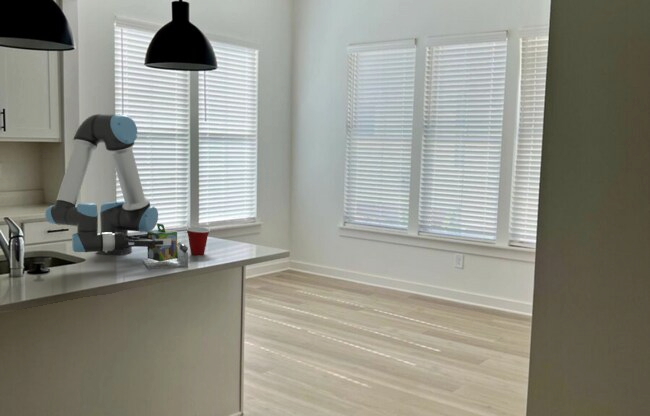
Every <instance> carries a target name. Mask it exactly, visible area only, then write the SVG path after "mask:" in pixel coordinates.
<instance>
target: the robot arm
mask: <svg viewBox="0 0 650 416" xmlns="http://www.w3.org/2000/svg"><path fill="white" fill-rule="evenodd" d="M137 137H138V128H137V124H136V123H135V121H134V120H133V119H132V118H131V116H128V115H124V114H102V113H101V114H100V113H97V114H92V115H90V116H88V117H87V118H86V119H85V120H84V121H82V123H81V124H80V125H79V126H78V128H77V130H76V131H75V134H74V136H73V139H72V143H73V145H74V146H73V148H72V151H71V153H70V157H69V160H68V164H67V165H66V166H67V167H66V169H65V172H64V175H63V179H62V181H61V185H60V188H59V190H58V194H57V198H56V199H55V200H56V201H55V202H54V204H53V205H50V206H48V207H47V208H46V210H45V216H44V217H45V219H46V221H47V222H48V223H49V224H53V225H58V226H71V227H76V228H77V232H75V233H73V234H72V238H71V241H72V242H71V244H72V247H71V248H72V250H73V252H74V253H94V252H96V253H97V254H99V255H104V256H105V255H106V256H107V255H108V256H111V255H113V256H117V255H126V254H130V253H132V252H133V248H134V247H137V248H138V247H140V248H148V247H153V248H155V246H166V245H171V238H170V239H155V240H150V239H147V232H150V231H154V229H155V227H157V223H158V220H159V211H158V209H157V207H155V206H153V205H151V203H150V199H148V198H147V197H145V194H144V191H143V186H142V183H141V178H140V175H139V171H138V166H137V162H136V159H135V156H134V152H133V151H134V150H133V147H134V145H135V142H136V140H137ZM100 143H103V144H104V145H105V146H104V147H105V149H106V151H108V153H109V152H110V153H111V157H112V161H113V164H114V167H115V172H116V175H117V179H118V183H119V185H120V190H121V193H122V196H123V200H122V201H111V202H104V203H102V204H101V205H100V212H98V205H97V204H96V203H94V202H79V203H78V204H77V202H78V198H79V197H80V196H79V195H80V193H81V189H82V186H83V183H84V180H85V176H86V174H87V171H88V167H89V164H90V161H91V158H92V154H93V152H94V151H96V150H97V147H98V145H99V144H100ZM99 214H100V215H99ZM99 216H100V232H99V230H98V227H99V225H98V224H99V222H98V221H99V220H98V219H99ZM128 232H140V233H143V234H133V235H131V234H129V233H128ZM128 234H129V235H128Z"/></svg>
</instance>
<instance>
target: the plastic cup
mask: <svg viewBox="0 0 650 416" xmlns="http://www.w3.org/2000/svg"><path fill="white" fill-rule="evenodd" d="M185 228H186V231H187V238H188V244H189V249H190V255H192V256H204V254H205V251H206V247H207V240H208V237H209V233H210V232H211V229H210V228H206V227H200V226H191V227H190V226H188V227H185Z"/></svg>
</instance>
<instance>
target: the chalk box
mask: <svg viewBox="0 0 650 416" xmlns="http://www.w3.org/2000/svg"><path fill="white" fill-rule="evenodd" d="M156 227H157V230H152V231H150V232H146V234H147V239H150V240H155V239H170V238H171V245H166V246H155V248H153V247H147V259H153V260H156V261H165V260H170V259H177V258H178V253H177V247H178V246H177V244H178V231H174V230H168V229H165V226H164V224H162V223H158V222H157V224H156ZM160 227H161V228H162V229H161V228H160Z"/></svg>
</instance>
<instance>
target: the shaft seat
mask: <svg viewBox="0 0 650 416" xmlns="http://www.w3.org/2000/svg"><path fill="white" fill-rule="evenodd" d="M188 250H189V247H188V246H187V245H185V244H184V243H183V242H180V241H179V242H177V253H178V258H177V259H170V260H165V261H156V260H153V259H149V258H147V259H142V262H143V264H144V265H145V267H146V268H147V269H148V270H157V269H159V270H160V269H175V268H189V252H188Z"/></svg>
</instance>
